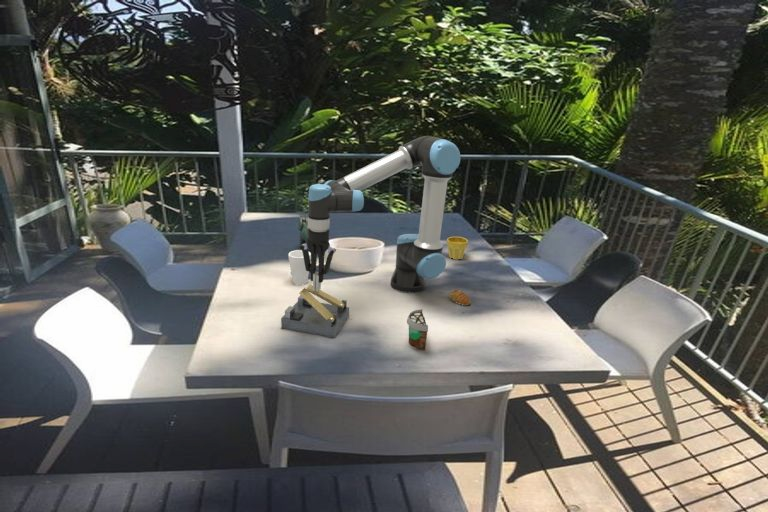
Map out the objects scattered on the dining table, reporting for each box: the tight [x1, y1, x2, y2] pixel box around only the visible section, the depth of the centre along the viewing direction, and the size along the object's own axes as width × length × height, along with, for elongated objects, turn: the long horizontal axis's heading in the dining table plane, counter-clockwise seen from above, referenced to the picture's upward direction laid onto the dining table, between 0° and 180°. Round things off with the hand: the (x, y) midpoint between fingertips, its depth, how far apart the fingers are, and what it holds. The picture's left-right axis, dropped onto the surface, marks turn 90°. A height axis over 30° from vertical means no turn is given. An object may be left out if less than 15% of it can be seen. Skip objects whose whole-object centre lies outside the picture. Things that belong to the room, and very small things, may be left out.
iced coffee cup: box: [406, 309, 429, 351], centre depth 166 cm, size 12×6×10 cm, turn 5°
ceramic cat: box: [297, 213, 311, 253], centre depth 238 cm, size 20×6×20 cm, turn 23°
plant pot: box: [446, 236, 469, 260], centre depth 245 cm, size 10×10×10 cm
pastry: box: [448, 289, 472, 306], centre depth 199 cm, size 9×7×4 cm
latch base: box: [280, 294, 350, 339], centre depth 176 cm, size 20×17×7 cm
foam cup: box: [288, 249, 311, 286], centre depth 207 cm, size 10×9×13 cm
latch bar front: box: [298, 287, 335, 322], centre depth 168 cm, size 15×3×2 cm
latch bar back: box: [305, 284, 346, 308], centre depth 179 cm, size 15×3×2 cm, turn 75°
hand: (316, 289), depth 179 cm, fingers closed
